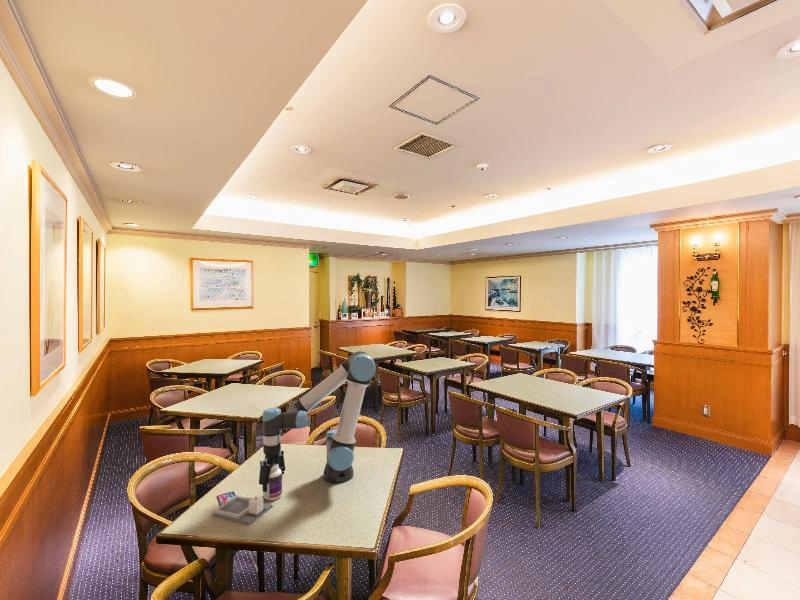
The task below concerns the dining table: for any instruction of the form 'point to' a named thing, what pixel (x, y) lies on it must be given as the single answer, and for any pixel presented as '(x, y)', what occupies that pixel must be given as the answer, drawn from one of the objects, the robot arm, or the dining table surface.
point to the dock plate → (242, 509)
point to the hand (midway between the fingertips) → (272, 493)
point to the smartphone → (225, 497)
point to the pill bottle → (275, 483)
